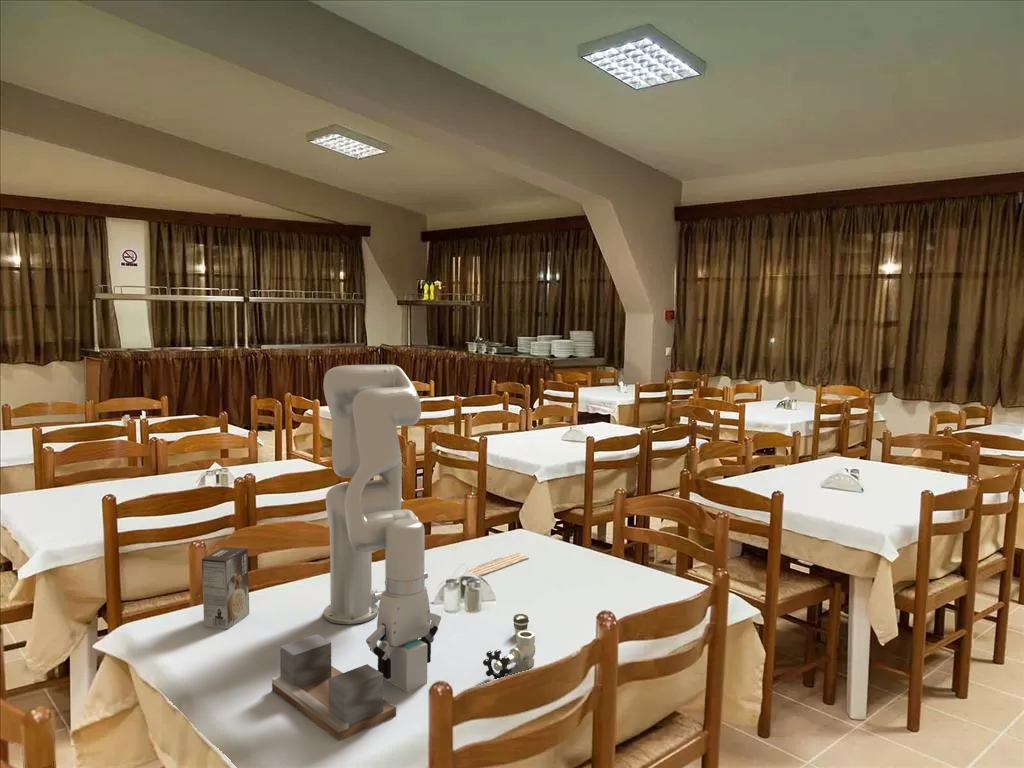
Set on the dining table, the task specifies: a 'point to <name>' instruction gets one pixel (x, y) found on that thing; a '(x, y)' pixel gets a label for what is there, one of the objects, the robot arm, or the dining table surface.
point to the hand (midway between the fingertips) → (404, 668)
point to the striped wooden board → (498, 564)
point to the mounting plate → (330, 689)
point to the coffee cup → (520, 623)
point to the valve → (513, 656)
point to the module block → (409, 665)
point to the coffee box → (225, 587)
